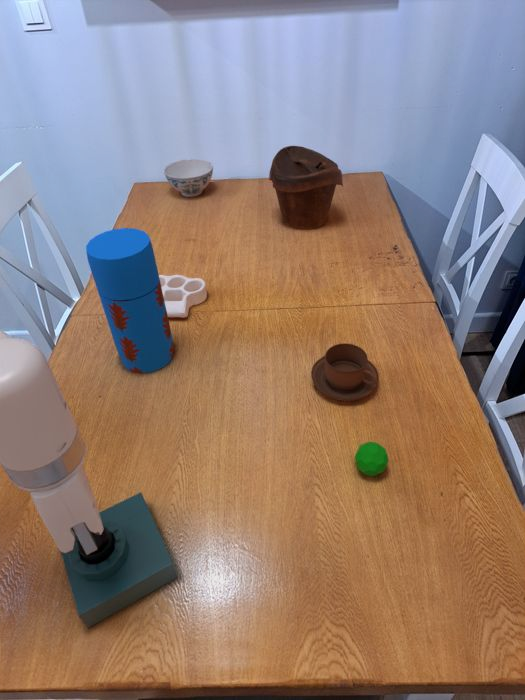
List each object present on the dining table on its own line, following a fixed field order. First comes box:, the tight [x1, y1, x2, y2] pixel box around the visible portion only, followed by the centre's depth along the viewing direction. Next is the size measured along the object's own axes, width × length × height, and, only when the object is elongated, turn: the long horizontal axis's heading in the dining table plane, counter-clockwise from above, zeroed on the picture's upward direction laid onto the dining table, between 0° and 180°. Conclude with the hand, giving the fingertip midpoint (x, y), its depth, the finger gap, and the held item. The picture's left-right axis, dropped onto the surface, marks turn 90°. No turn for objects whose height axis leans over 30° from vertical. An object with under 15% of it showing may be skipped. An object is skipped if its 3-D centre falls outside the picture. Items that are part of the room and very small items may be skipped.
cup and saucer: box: [310, 343, 380, 402], centre depth 87 cm, size 12×12×6 cm
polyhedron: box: [354, 441, 390, 477], centre depth 74 cm, size 5×5×5 cm
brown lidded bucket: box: [268, 145, 344, 230], centre depth 132 cm, size 18×20×18 cm
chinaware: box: [163, 158, 214, 198], centre depth 152 cm, size 15×15×8 cm
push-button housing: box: [60, 491, 179, 629], centre depth 64 cm, size 12×12×6 cm
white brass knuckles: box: [159, 274, 208, 318], centre depth 110 cm, size 3×18×15 cm
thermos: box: [85, 227, 175, 374], centre depth 89 cm, size 11×11×25 cm
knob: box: [78, 528, 114, 564], centre depth 61 cm, size 4×4×2 cm
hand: (94, 541), depth 60 cm, fingers closed
